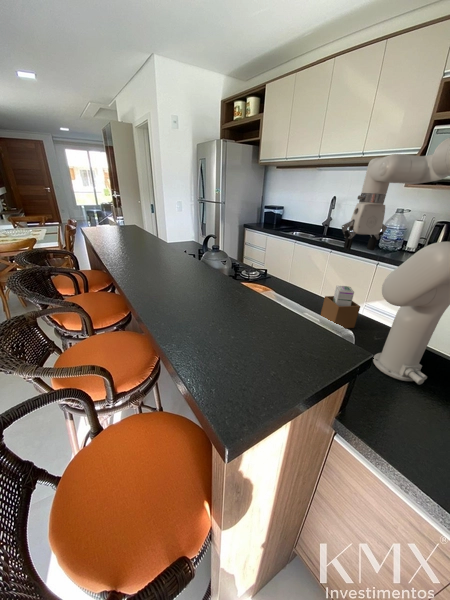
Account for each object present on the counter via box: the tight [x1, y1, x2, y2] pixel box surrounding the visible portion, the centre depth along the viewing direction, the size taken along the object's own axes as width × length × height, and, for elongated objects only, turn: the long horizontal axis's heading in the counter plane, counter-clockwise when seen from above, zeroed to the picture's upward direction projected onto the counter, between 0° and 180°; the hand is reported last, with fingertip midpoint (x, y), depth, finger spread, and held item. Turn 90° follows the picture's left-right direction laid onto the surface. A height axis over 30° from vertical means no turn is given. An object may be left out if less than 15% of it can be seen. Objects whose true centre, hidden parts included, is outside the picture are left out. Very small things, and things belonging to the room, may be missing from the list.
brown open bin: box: [320, 295, 361, 329], centre depth 101 cm, size 10×9×10 cm
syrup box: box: [333, 285, 355, 306], centre depth 100 cm, size 6×6×14 cm
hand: (358, 249), depth 91 cm, fingers open, 9 cm apart
